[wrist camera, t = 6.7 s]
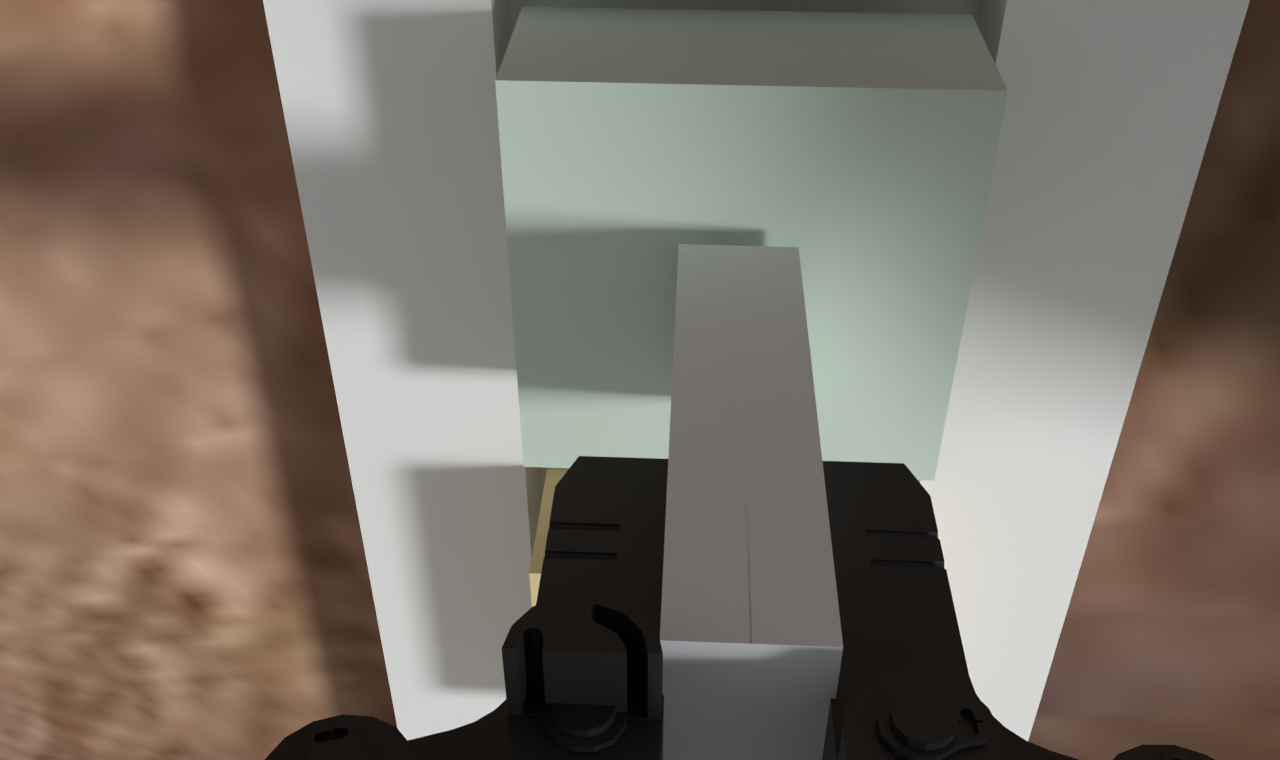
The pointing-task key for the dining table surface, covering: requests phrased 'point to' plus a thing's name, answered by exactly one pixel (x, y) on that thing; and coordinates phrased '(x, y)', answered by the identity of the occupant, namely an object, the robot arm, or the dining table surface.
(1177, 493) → the dining table surface
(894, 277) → the tile one
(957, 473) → the panel
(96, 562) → the dining table surface
